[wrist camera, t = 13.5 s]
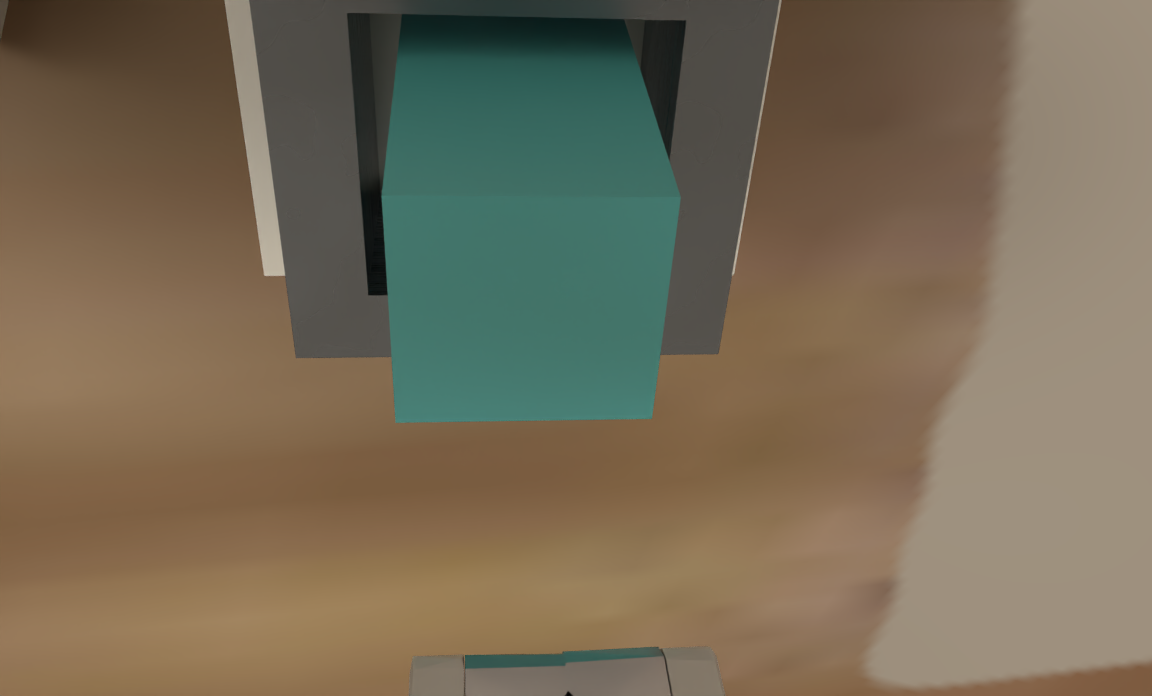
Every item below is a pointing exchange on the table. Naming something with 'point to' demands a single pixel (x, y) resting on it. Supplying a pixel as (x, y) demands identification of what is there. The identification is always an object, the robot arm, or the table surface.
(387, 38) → the board
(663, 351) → the port
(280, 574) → the table surface
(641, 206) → the plug
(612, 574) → the table surface
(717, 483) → the table surface
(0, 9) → the network device
